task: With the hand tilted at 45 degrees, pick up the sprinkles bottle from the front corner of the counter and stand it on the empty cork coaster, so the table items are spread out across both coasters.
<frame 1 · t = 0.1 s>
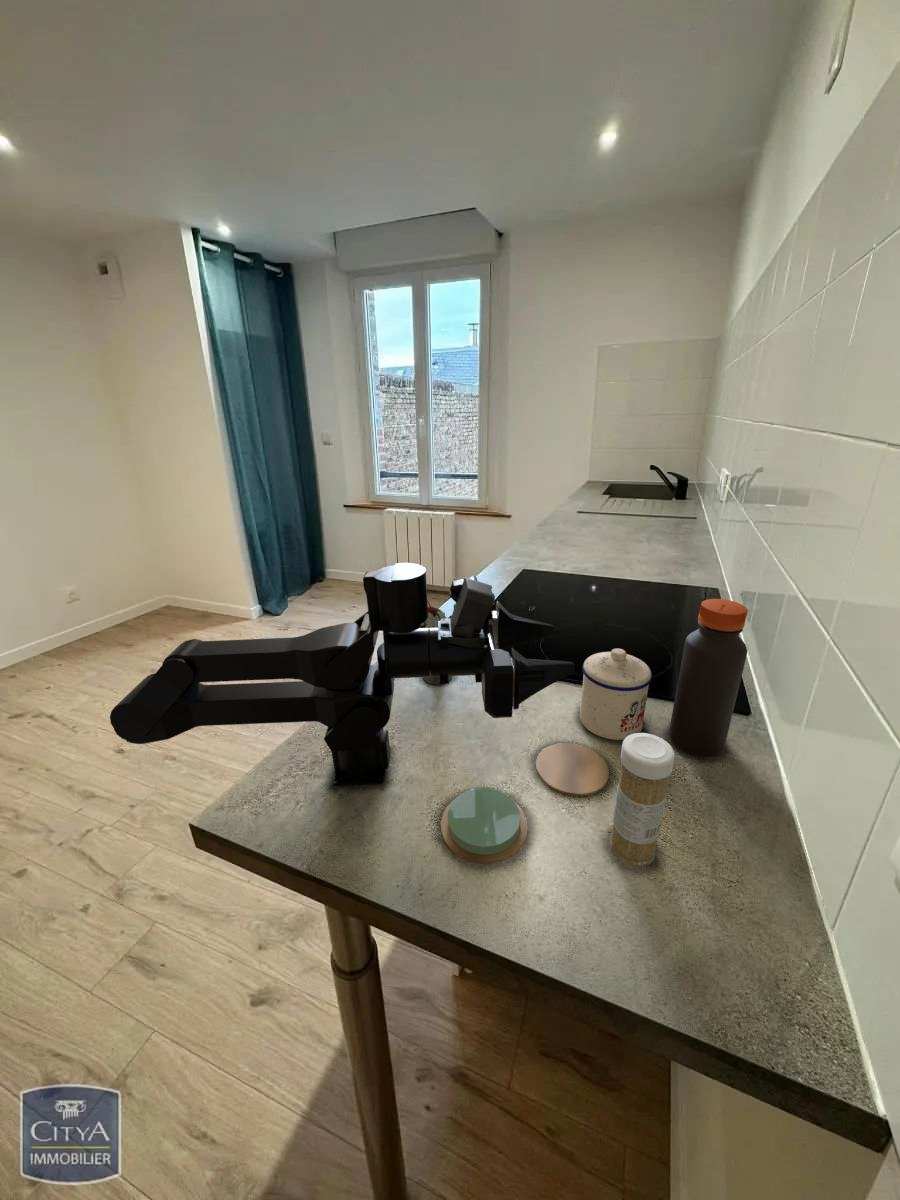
hand: (563, 647, 55), 17 cm above the worktop, tool horizontal, fingers open, 9 cm apart
vinegar: (695, 742, 64), on the worktop
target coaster: (571, 768, 60), on the worktop
sundae: (437, 677, 81), on the worktop
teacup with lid: (613, 717, 69), on the worktop
sprinkles bottle: (631, 851, 49), on the worktop
saucer coaster: (483, 825, 52), on the worktop
green flat disc: (483, 823, 52), resting on saucer coaster
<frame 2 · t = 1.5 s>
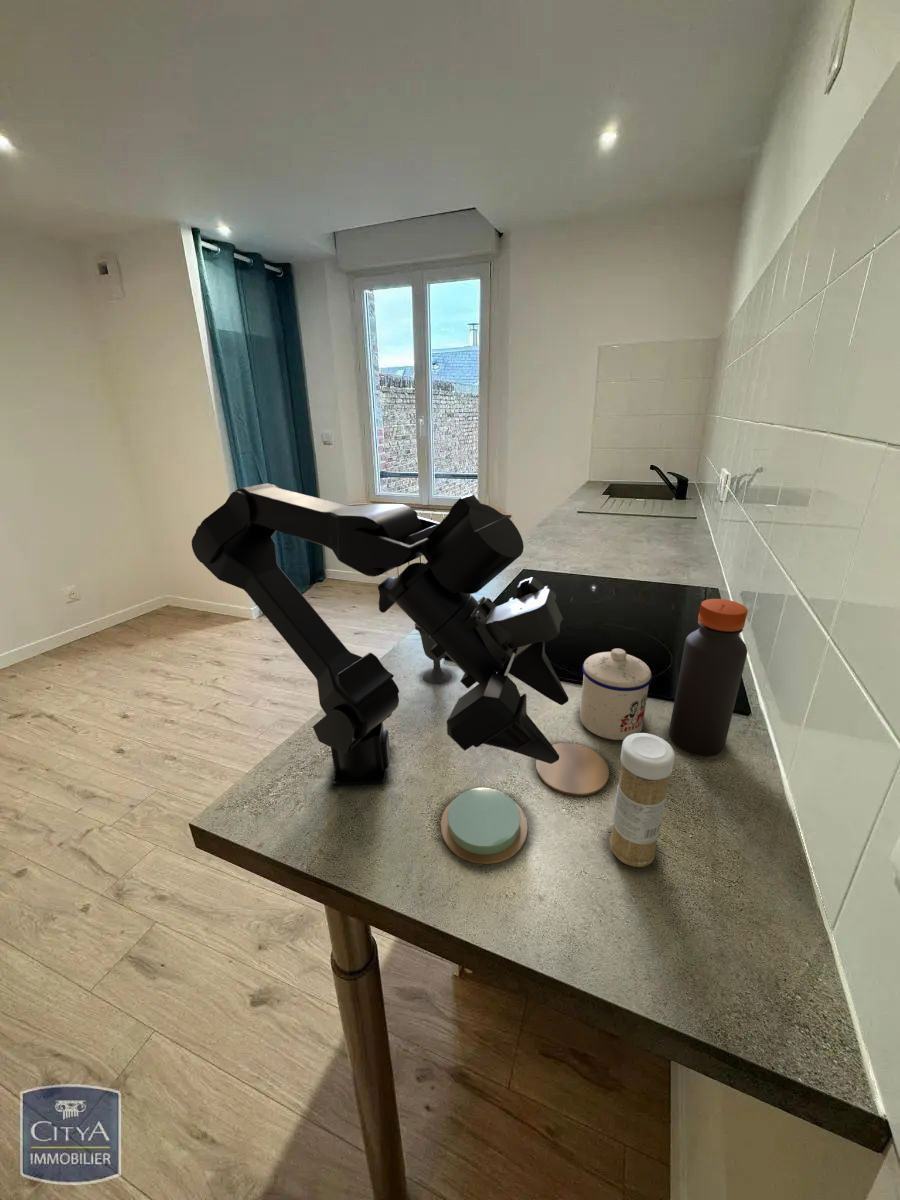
hand: (560, 728, 46), 14 cm above the worktop, tool tilted 45°, fingers open, 9 cm apart
nothing on the worktop moved.
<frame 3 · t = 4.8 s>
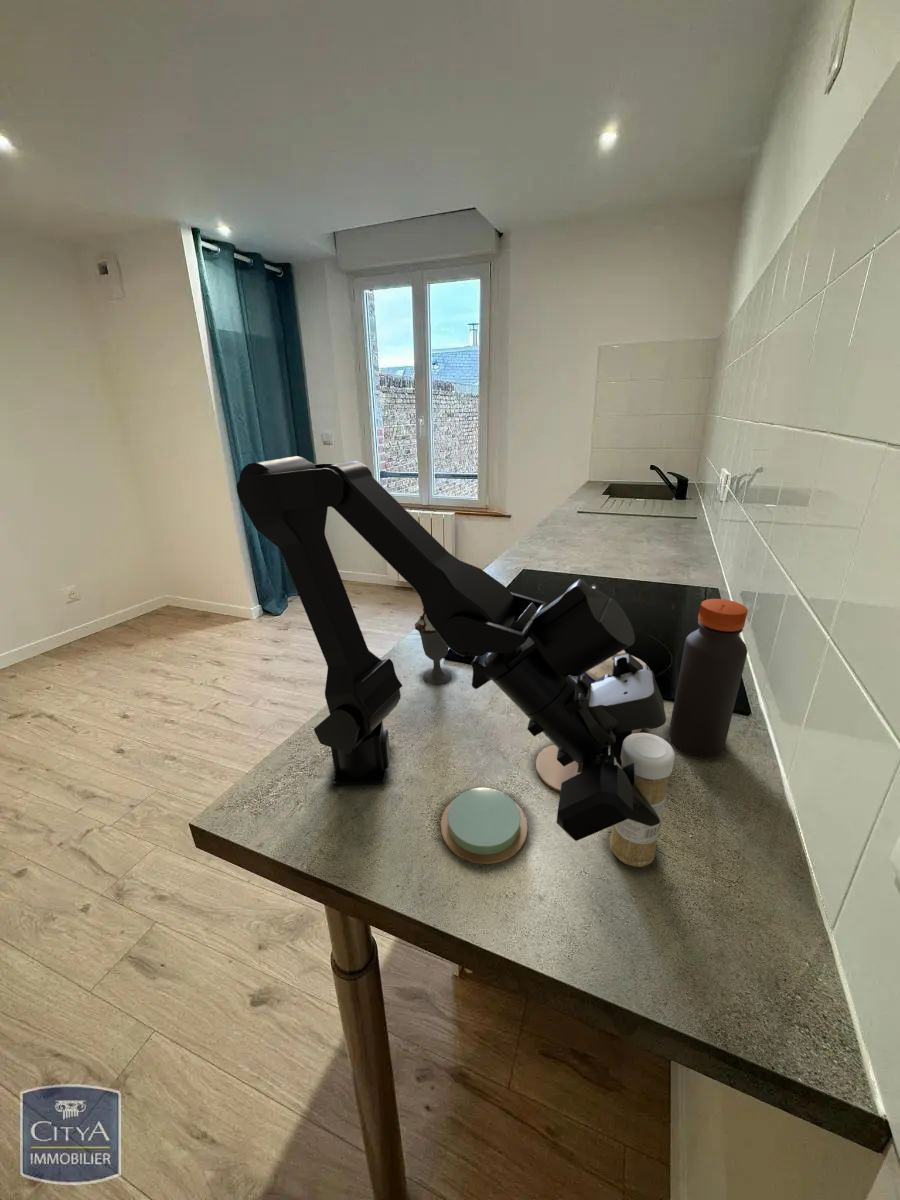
hand: (654, 805, 46), 7 cm above the worktop, tool tilted 45°, fingers closed on sprinkles bottle, 4 cm apart
sprinkles bottle: (631, 850, 49), on the worktop, touching gripper
everything else where it was.
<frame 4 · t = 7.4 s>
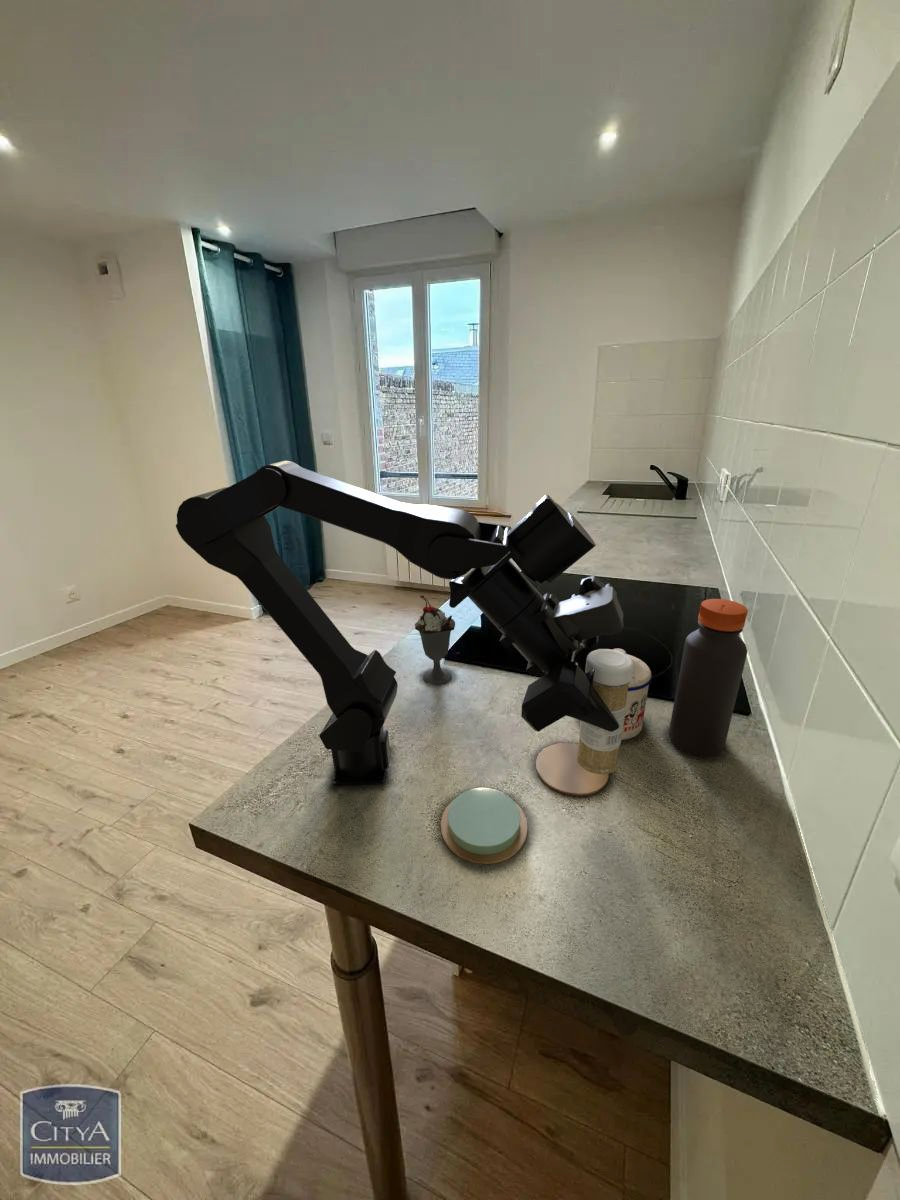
hand: (616, 716, 50), 12 cm above the worktop, tool tilted 45°, fingers closed on sprinkles bottle, 4 cm apart
sprinkles bottle: (596, 763, 53), point 5 cm above the worktop, touching gripper
everything else where it was.
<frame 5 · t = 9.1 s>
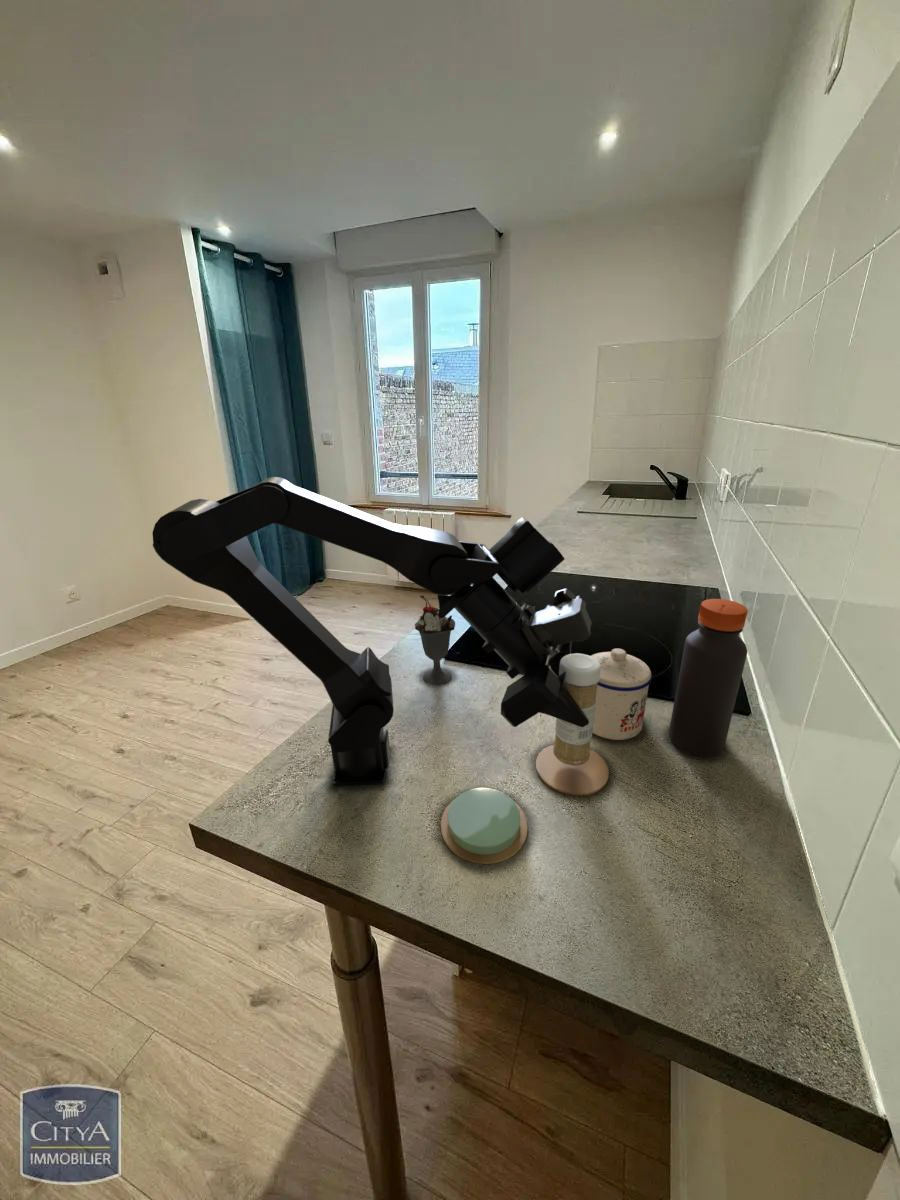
hand: (587, 713, 56), 9 cm above the worktop, tool tilted 45°, fingers closed on sprinkles bottle, 4 cm apart
sprinkles bottle: (570, 756, 59), point 2 cm above the worktop, touching gripper
everything else where it was.
when the fingers open (7 cm above the worktop, at t = 10.1 s): sprinkles bottle stays where it is, resting on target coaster.
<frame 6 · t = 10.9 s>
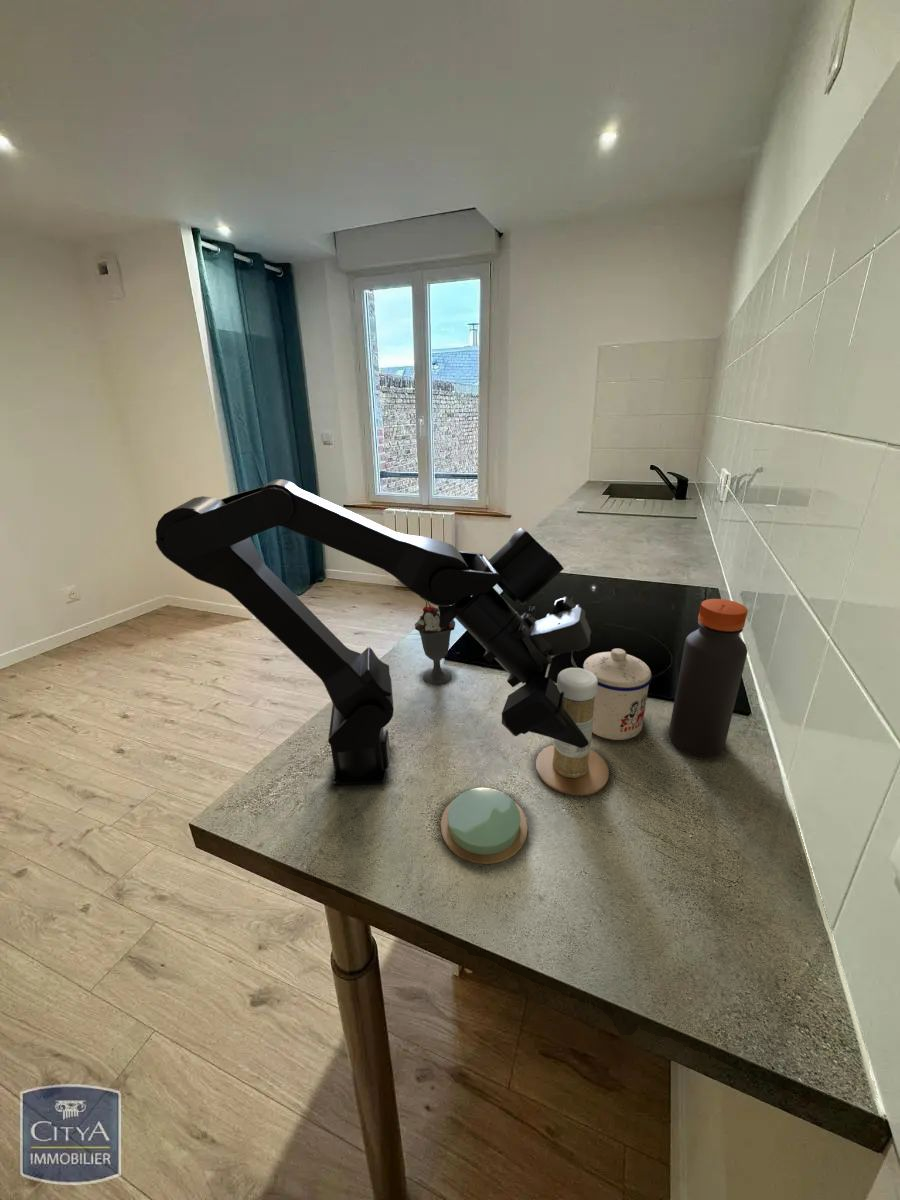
hand: (587, 720, 57), 8 cm above the worktop, tool tilted 45°, fingers open, 9 cm apart
sprinkles bottle: (569, 768, 60), resting on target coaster
everything else where it was.
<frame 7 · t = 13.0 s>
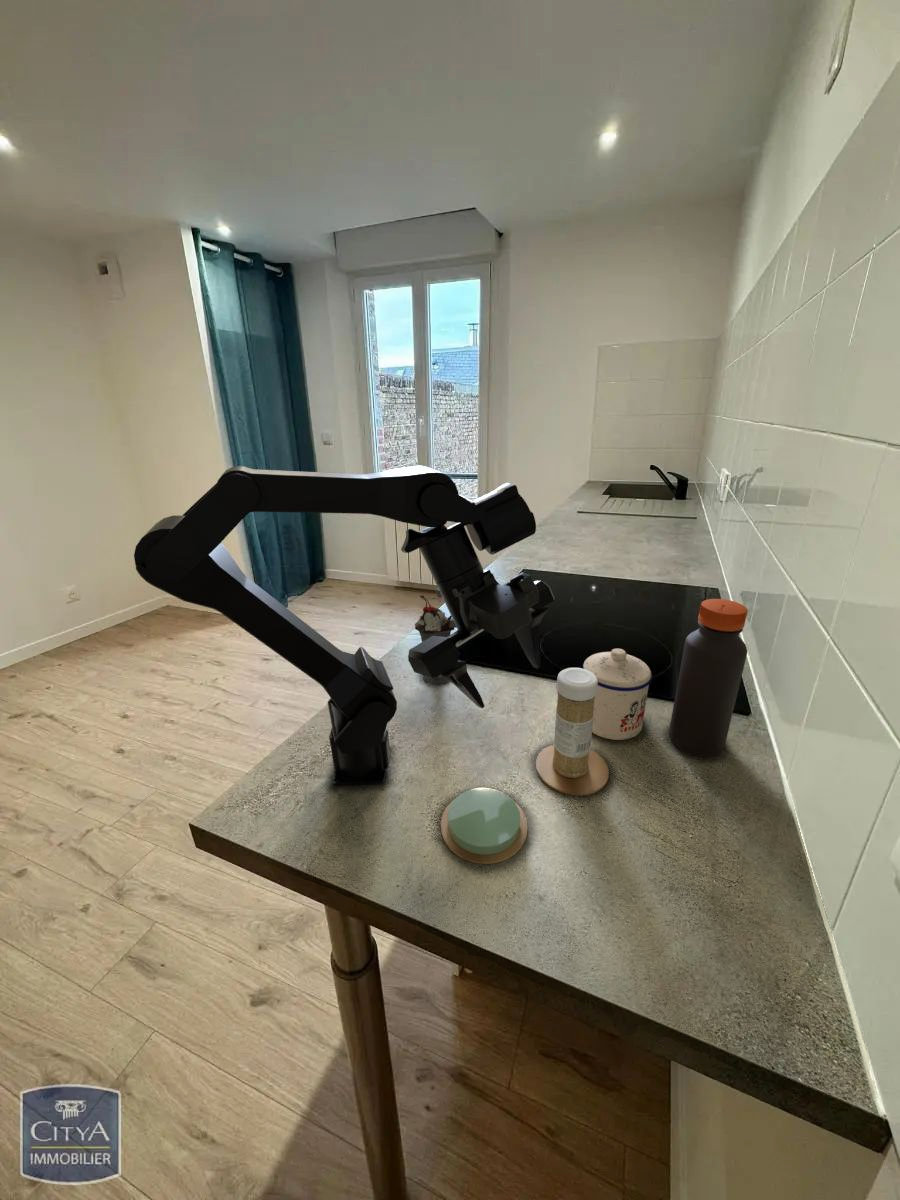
hand: (510, 686, 58), 11 cm above the worktop, tool tilted 25°, fingers open, 9 cm apart
nothing on the worktop moved.
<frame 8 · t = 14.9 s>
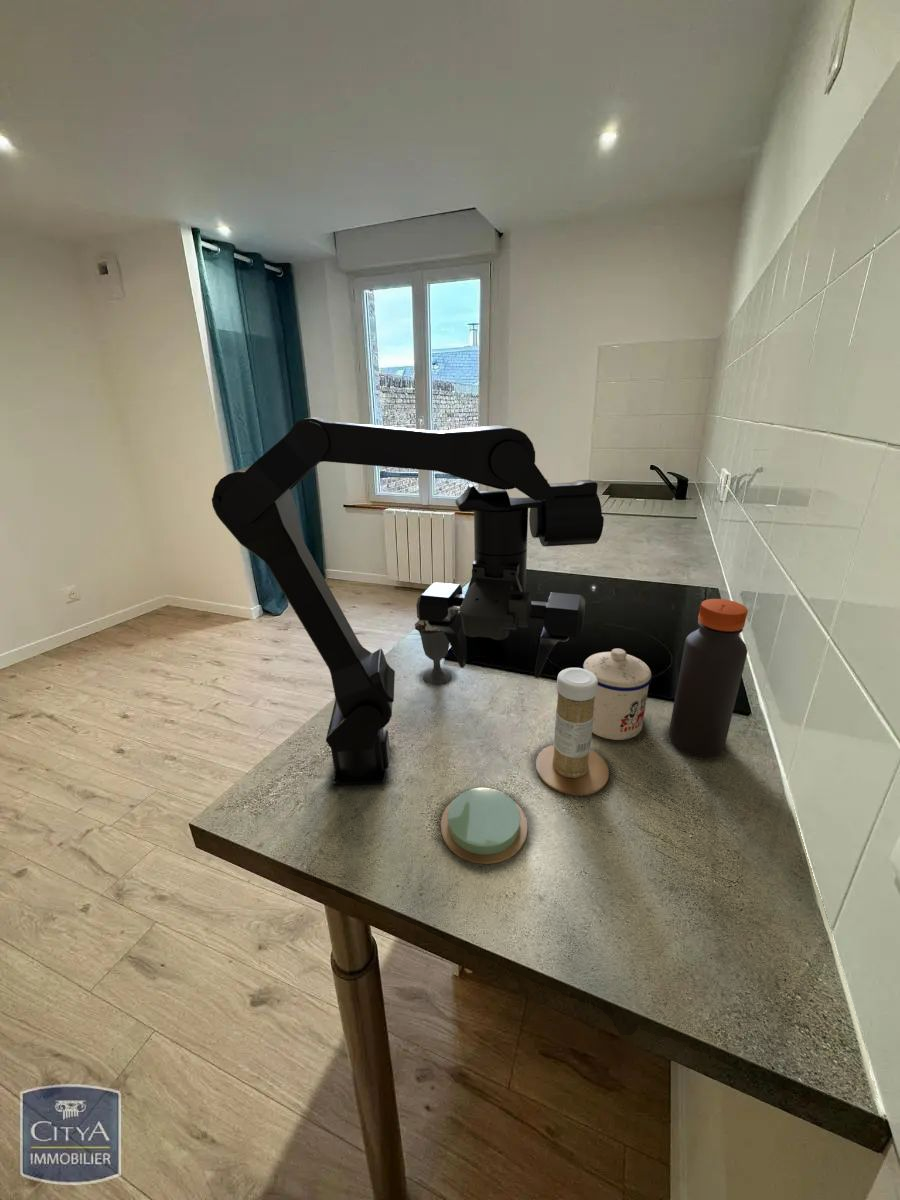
hand: (499, 671, 58), 13 cm above the worktop, tool pointing down, fingers open, 9 cm apart
nothing on the worktop moved.
at the end: sprinkles bottle 0.3 cm from the target spot, resting on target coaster; sprinkles bottle tilted 0°; the gripper is holding nothing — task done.
